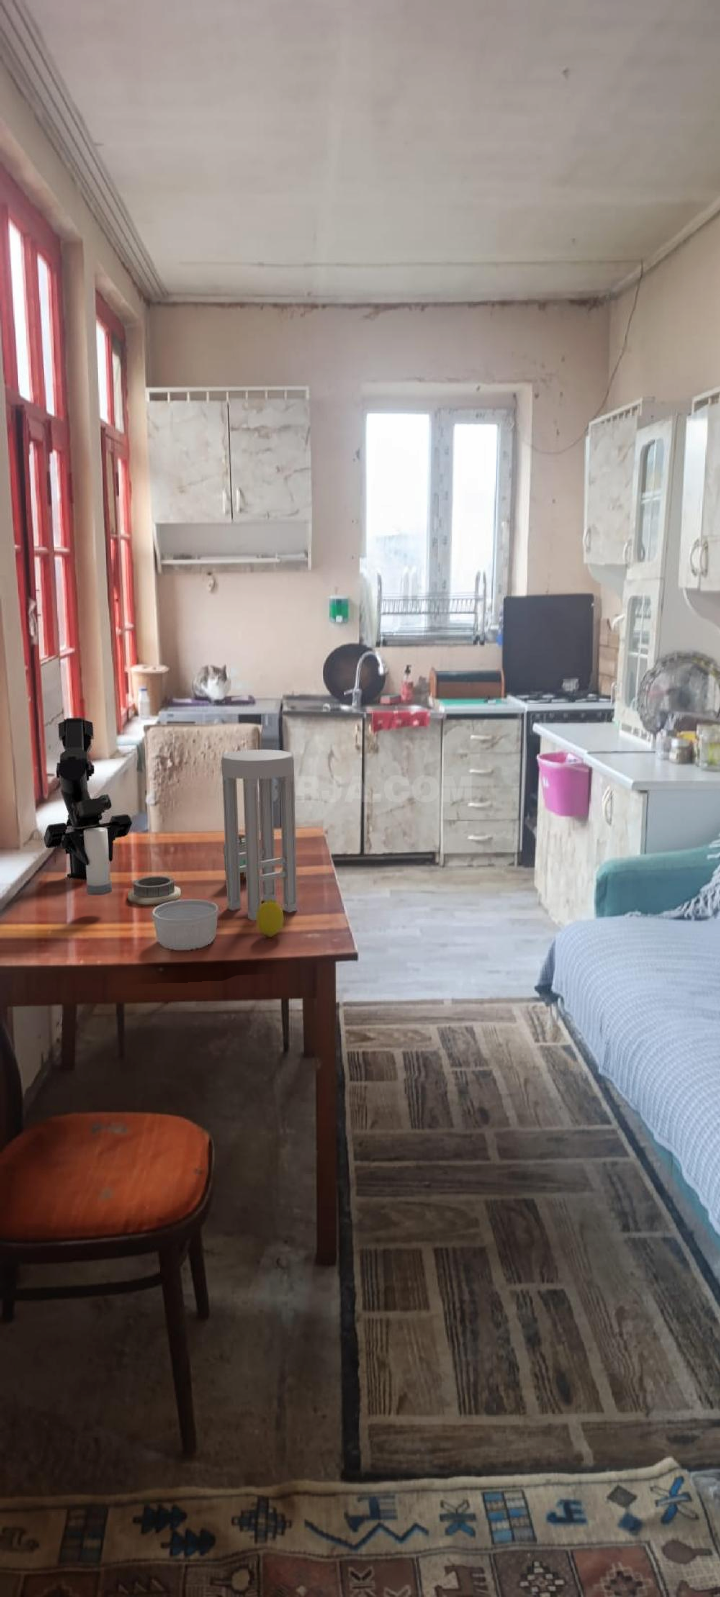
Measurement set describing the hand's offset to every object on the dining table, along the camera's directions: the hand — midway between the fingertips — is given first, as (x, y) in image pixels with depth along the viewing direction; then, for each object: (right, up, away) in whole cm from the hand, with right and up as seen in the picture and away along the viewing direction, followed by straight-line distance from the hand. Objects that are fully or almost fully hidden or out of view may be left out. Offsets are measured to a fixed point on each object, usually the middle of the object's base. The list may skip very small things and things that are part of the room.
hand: (99, 862), depth 217 cm
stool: (+35, -11, +5) cm, 37 cm away
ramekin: (+22, -15, -16) cm, 31 cm away
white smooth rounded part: (-1, -7, +3) cm, 7 cm away
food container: (+28, -6, +28) cm, 40 cm away
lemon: (+39, -15, -14) cm, 44 cm away
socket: (+9, -9, +15) cm, 19 cm away
